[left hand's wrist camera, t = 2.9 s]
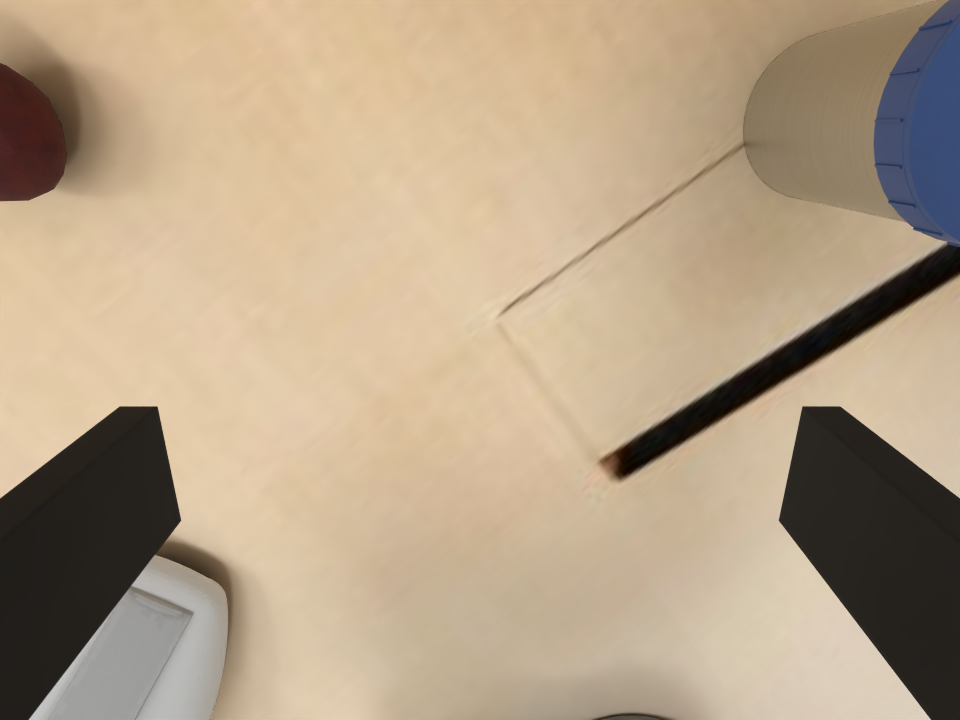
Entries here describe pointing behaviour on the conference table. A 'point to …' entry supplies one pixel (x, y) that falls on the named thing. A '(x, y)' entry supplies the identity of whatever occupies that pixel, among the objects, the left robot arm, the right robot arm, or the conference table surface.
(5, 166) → the dark maroon ball
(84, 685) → the projector
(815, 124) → the jar
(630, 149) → the conference table surface
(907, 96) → the lid
